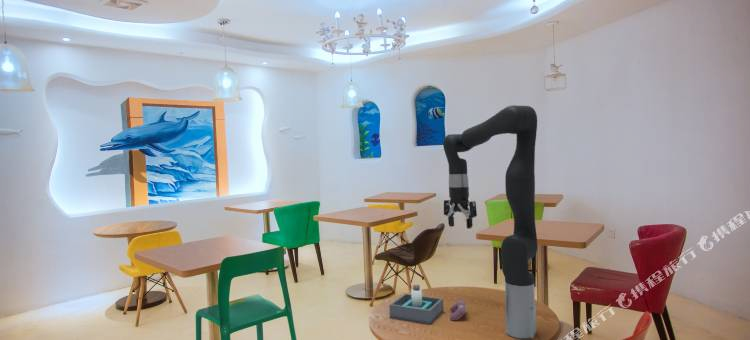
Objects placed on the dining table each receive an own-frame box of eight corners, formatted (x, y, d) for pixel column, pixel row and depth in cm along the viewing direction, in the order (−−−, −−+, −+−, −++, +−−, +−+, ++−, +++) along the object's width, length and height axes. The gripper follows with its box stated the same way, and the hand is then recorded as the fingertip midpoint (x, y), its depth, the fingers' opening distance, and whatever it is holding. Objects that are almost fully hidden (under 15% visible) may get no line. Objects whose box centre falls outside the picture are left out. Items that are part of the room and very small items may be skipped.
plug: (424, 311, 168) (423, 284, 167) (419, 314, 164) (419, 288, 164) (414, 309, 170) (413, 283, 169) (410, 313, 166) (409, 286, 166)
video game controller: (460, 325, 159) (469, 308, 158) (448, 319, 160) (457, 302, 159) (460, 315, 169) (468, 299, 168) (449, 310, 169) (457, 294, 169)
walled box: (443, 311, 169) (443, 298, 169) (430, 324, 157) (429, 310, 157) (405, 305, 177) (404, 293, 177) (389, 317, 165) (389, 304, 164)
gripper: (438, 186, 175) (440, 227, 175) (467, 186, 164) (469, 230, 164) (450, 184, 179) (452, 224, 180) (479, 185, 169) (481, 227, 169)
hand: (460, 227), depth 172 cm, fingers open, 8 cm apart
